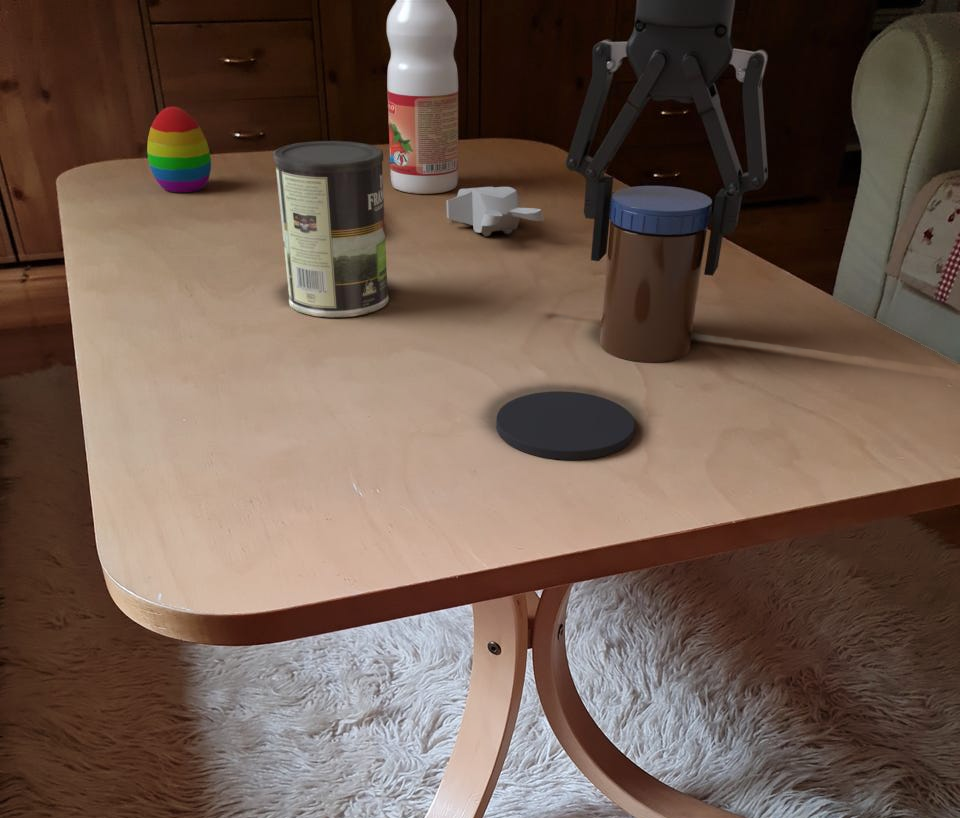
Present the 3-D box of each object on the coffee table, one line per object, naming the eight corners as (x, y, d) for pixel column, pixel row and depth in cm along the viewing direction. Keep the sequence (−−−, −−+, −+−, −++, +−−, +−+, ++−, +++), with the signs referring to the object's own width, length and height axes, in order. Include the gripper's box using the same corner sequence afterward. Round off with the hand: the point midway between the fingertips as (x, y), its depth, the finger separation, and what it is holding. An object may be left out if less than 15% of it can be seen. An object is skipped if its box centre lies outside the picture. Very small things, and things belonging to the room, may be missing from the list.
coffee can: (391, 285, 108) (386, 140, 99) (385, 319, 99) (379, 164, 91) (295, 283, 107) (281, 138, 99) (280, 317, 99) (264, 163, 91)
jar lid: (717, 214, 90) (720, 191, 89) (699, 239, 84) (702, 215, 83) (622, 203, 93) (624, 181, 91) (598, 228, 86) (600, 204, 85)
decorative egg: (143, 186, 139) (129, 105, 133) (196, 177, 143) (185, 99, 137) (170, 198, 134) (156, 115, 128) (225, 189, 138) (214, 108, 132)
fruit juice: (451, 197, 137) (450, -53, 120) (383, 193, 138) (373, -55, 121) (463, 180, 144) (464, -57, 127) (399, 177, 146) (392, -59, 129)
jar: (696, 336, 97) (717, 197, 89) (679, 368, 91) (700, 221, 83) (611, 324, 99) (625, 188, 92) (589, 354, 93) (601, 210, 85)
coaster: (647, 412, 83) (648, 403, 83) (615, 470, 75) (616, 461, 74) (521, 391, 86) (521, 382, 86) (476, 445, 78) (476, 436, 77)
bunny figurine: (503, 178, 129) (553, 192, 117) (504, 221, 132) (553, 239, 120) (434, 184, 126) (477, 198, 114) (436, 228, 129) (478, 246, 117)
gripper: (844, -33, 77) (784, 266, 90) (564, -46, 83) (547, 237, 96) (836, -26, 71) (774, 292, 85) (536, -40, 77) (523, 260, 90)
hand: (654, 263), depth 90 cm, fingers open, 9 cm apart
